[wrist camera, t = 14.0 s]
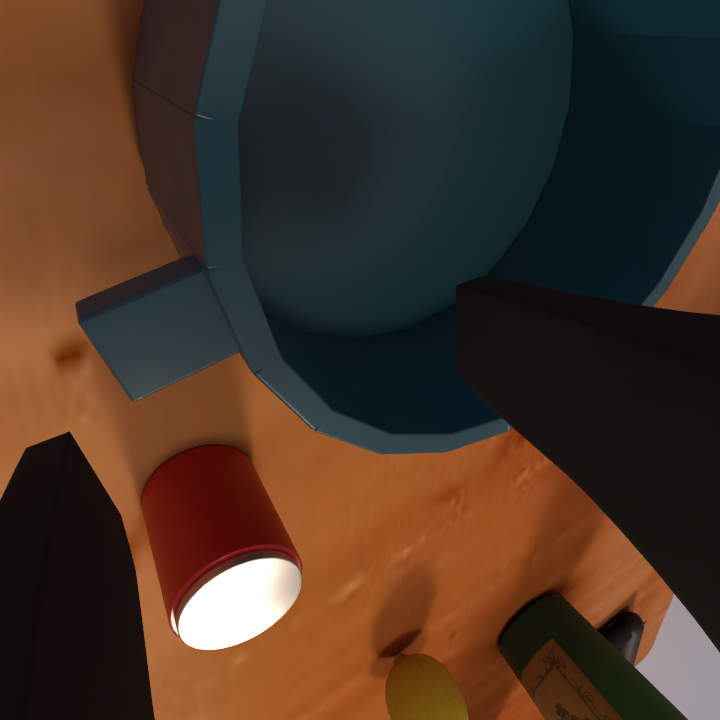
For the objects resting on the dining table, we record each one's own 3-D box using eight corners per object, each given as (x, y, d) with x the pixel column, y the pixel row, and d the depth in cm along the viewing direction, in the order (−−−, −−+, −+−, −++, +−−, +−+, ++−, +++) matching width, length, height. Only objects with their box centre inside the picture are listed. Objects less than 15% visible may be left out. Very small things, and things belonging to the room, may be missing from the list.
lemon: (374, 646, 39) (436, 757, 33) (432, 621, 42) (498, 719, 36) (361, 688, 42) (416, 797, 36) (416, 661, 45) (476, 759, 39)
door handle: (557, 731, 77) (640, 671, 80) (558, 688, 64) (656, 618, 67) (542, 708, 79) (623, 651, 82) (540, 663, 67) (635, 596, 70)
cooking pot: (-159, -133, 10) (-364, -299, 5) (658, -274, 16) (973, -419, 11) (196, 444, 22) (253, 588, 16) (602, 234, 28) (744, 287, 22)
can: (137, 458, 21) (168, 582, 16) (257, 434, 23) (313, 536, 19) (144, 544, 23) (173, 673, 19) (252, 514, 26) (301, 622, 21)
